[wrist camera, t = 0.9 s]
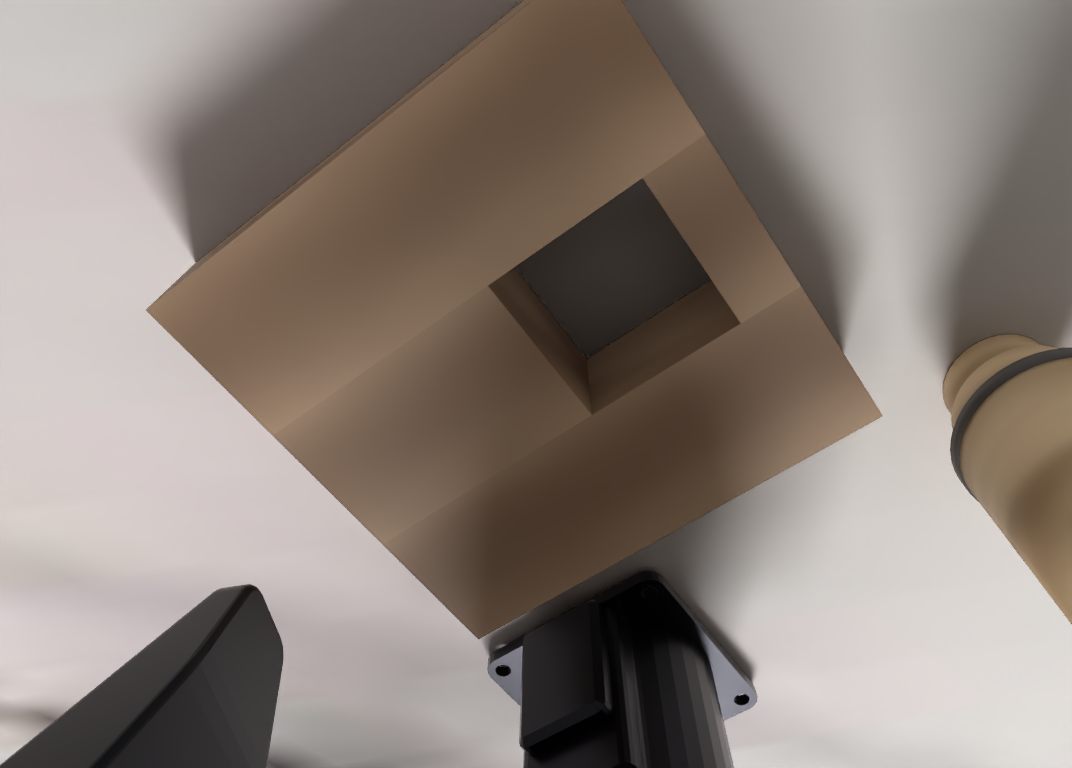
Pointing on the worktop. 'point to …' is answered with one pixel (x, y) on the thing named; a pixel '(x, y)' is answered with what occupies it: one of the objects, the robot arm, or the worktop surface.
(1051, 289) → the worktop surface
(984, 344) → the oak peg
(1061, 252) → the worktop surface
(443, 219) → the walnut block
